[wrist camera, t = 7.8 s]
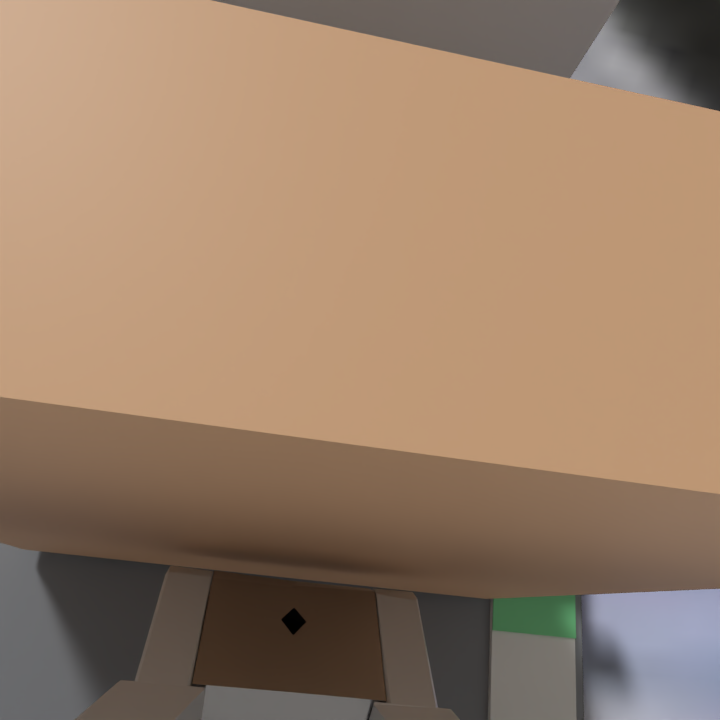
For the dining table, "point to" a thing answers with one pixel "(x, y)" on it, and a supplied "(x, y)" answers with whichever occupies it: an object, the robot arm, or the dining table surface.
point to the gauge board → (438, 611)
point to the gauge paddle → (351, 308)
